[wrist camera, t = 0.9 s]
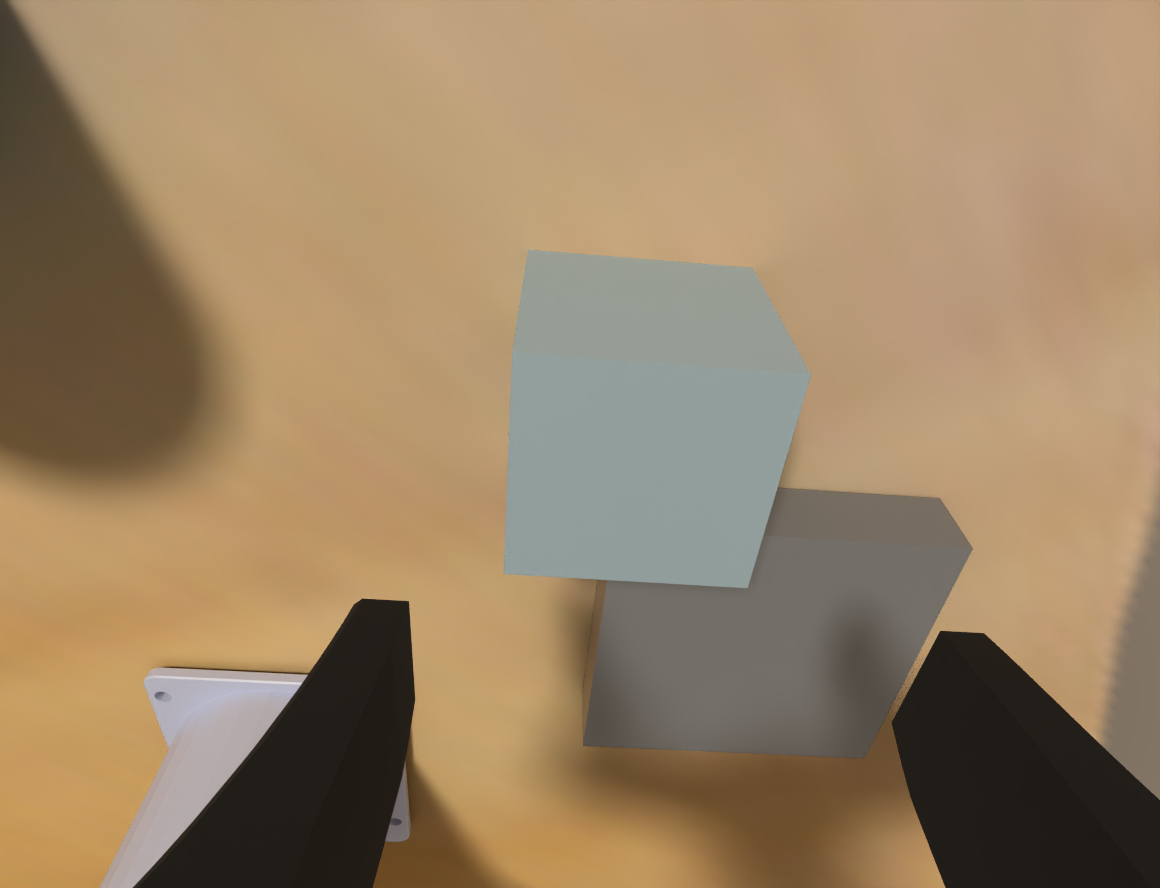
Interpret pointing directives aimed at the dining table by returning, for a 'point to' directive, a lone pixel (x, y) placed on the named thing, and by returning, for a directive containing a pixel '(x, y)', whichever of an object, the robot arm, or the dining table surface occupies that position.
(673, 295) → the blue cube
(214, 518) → the dining table surface
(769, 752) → the slate base
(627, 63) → the dining table surface
